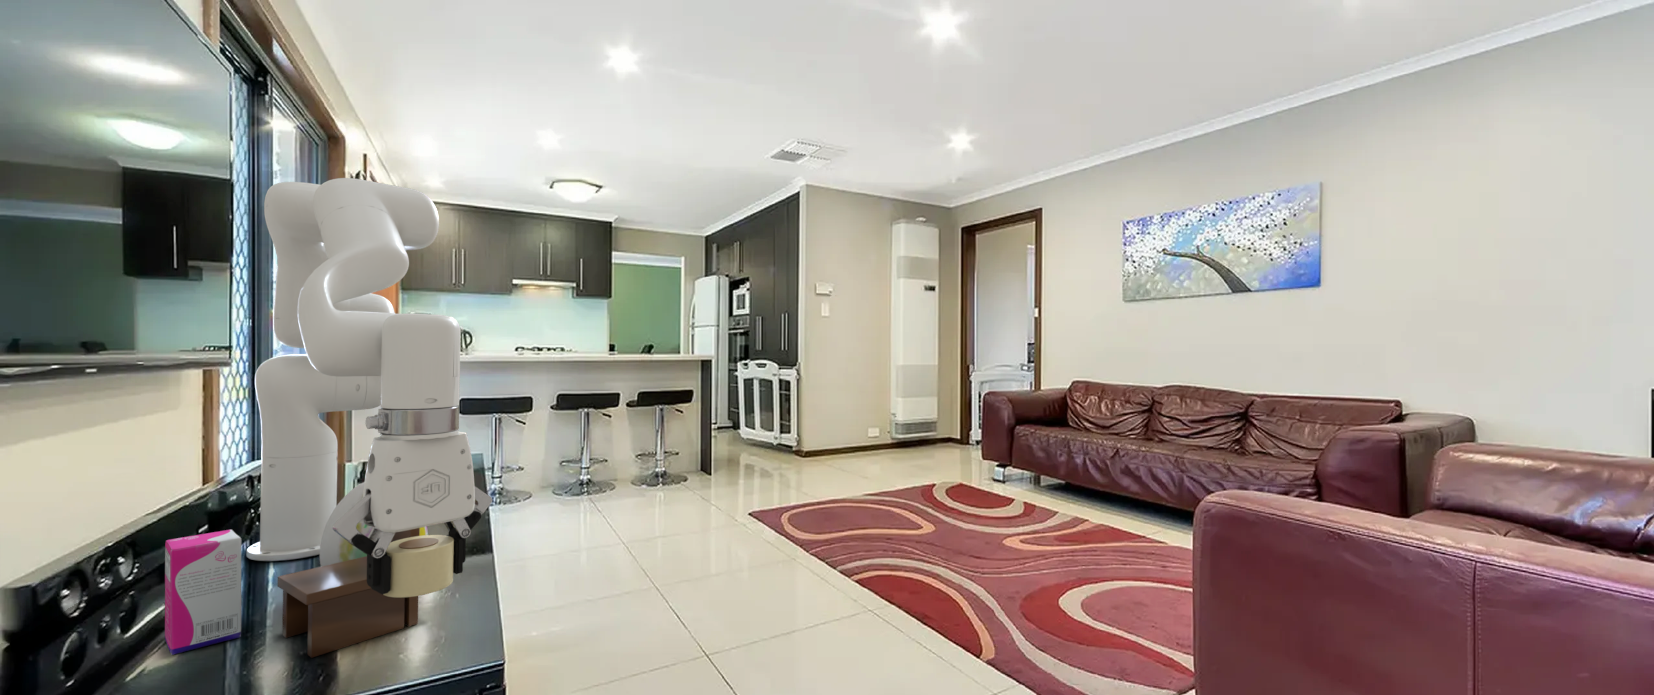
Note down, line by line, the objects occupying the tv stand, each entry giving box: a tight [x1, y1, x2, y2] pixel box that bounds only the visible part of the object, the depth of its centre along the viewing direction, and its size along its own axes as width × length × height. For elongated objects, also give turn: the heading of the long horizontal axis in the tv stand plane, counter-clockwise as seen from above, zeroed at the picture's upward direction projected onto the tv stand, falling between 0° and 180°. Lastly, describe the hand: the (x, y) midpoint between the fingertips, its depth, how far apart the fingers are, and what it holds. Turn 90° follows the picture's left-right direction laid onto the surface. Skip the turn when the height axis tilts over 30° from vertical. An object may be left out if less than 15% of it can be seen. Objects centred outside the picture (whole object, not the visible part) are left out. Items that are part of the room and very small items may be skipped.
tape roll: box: [383, 534, 454, 598], centre depth 72 cm, size 7×7×5 cm
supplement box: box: [164, 529, 242, 656], centre depth 72 cm, size 6×6×12 cm
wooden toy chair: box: [277, 528, 419, 659], centre depth 75 cm, size 9×11×16 cm
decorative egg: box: [319, 481, 429, 567], centre depth 88 cm, size 12×12×15 cm
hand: (418, 579), depth 72 cm, fingers closed on tape roll, 6 cm apart
